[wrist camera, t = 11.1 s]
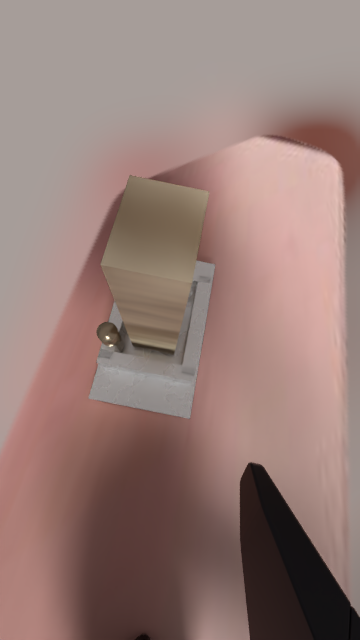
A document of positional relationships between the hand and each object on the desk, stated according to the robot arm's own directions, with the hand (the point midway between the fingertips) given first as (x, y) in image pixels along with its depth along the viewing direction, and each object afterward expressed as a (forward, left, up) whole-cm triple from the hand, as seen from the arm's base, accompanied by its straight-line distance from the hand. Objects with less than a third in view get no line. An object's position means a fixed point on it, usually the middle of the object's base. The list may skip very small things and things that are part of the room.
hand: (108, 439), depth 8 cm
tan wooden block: (+6, +6, -13) cm, 15 cm away
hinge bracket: (+6, +6, -14) cm, 16 cm away
